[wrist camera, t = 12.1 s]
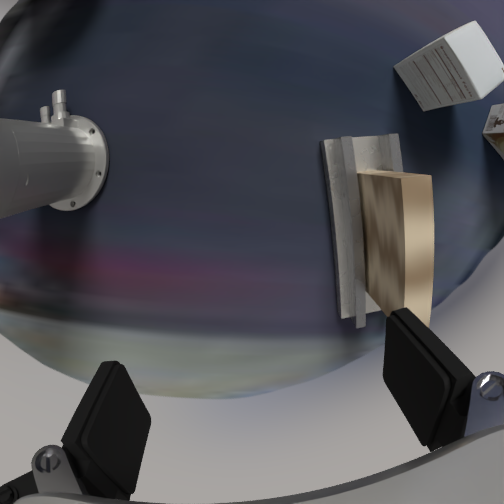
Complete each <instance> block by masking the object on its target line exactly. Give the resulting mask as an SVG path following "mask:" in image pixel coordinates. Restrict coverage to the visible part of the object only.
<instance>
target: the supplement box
mask: <svg viewBox="0 0 504 504" xmlns="http://www.w3.org/2000/svg"><path fill="white" fill-rule="evenodd" d="M394 68H395V70H396V71H397V73H398V74H399V76H400V77H401V78H402V80H403V81H404V83H405V84H406V86H407V87H408V89H409V90H410V92H411V93H412V95H413V96H414V98H415V99H416V101H417V102H418V104H419V105H420V107H421V108H422V110H423V111H428V110H432V109H436V108H440V107H445V106H450V105H455V104H460V103H465V102H470V101H475V100H479V99H482V98H483V97H485V96H486V95H487V94H488V93H489V92H491V91H492V90H493V89H494V88H496V87H497V86H498V85H499V84H500V83H501V82H503V81H504V65H503V63H502V61H501V59H500V58H499V56H498V54H497V52H496V51H495V49H494V48H493V46H492V44H491V43H490V41H489V40H488V38H487V37H486V35H485V34H484V32H483V31H482V29H481V28H480V26H479V25H478V23H477V22H476V21H473V22H470V23H468V24H466V25H463V26H461V27H459V28H457V29H455V30H453V31H451V32H449V33H447V34H446V35H444V36H442V37H440V38H439V39H437V40H435V41H433V42H432V43H430V44H428V45H427V46H425V47H423V48H422V49H420V50H418V51H417V52H415V53H414V54H412V55H410V56H409V57H407V58H406V59H404V60H403V61H401V62H400V63H398V64H396V65H395V66H394Z"/></svg>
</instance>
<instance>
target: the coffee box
mask: <svg viewBox="0 0 504 504" xmlns="http://www.w3.org/2000/svg"><path fill="white" fill-rule="evenodd" d="M482 134H483V136H484V137H485V138H486V139H487V140H488V142H489V143H490V144H491V145H492V146H493V147H494V149H495V150H496V151H497V152H498V153H499V155H500V156H501V157H502V158H503V160H504V104H498V105H492V107H491V110H490V113H489V116H488V119H487V121H486V124H485V127H484V130H483V133H482Z"/></svg>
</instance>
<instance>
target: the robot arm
mask: <svg viewBox="0 0 504 504" xmlns="http://www.w3.org/2000/svg"><path fill="white" fill-rule="evenodd" d="M52 105H53V110H54V115H53V116H52V117H51V119H52V122H50V107H49V106H45V107H42V108H41V109H40V114H41V121H42V123H40V122H32V121H22V120H12V119H1V118H0V219H1V218H4V217H7V216H11V215H14V214H17V213H20V212H24V211H27V210H31V209H34V208H38V207H41V206H45V205H50V206H51V207H53V208H55V209H58V210H62V211H71V210H76V209H79V208H81V207H83V206H85V205H87V204H88V203H89V202H91V201H92V200H93V199H94V198H95V197H96V195H97V194H98V193H99V191H100V190H101V188H102V186H103V184H104V182H105V179H106V176H107V172H108V166H109V150H108V145H107V141H106V139H105V136H104V134H103V132H102V131H101V129H100V128H99V127H98V126H97V125H96V124H95V123H94V122H93V121H91V120H89V119H88V118H85V117H82V116H75V115H71V116H70V114H69V112H67V111H66V91H65V90H58V91H55V92H53V93H52ZM94 131H95V133H94ZM100 173H101V175H100ZM75 203H76V204H75ZM383 379H384V382H385V384H386V385H387V387H388V389H389V390H390V392H391V394H392V395H393V397H394V399H395V400H396V402H397V404H398V405H399V407H400V408H401V410H402V412H403V414H404V415H405V417H406V419H407V421H408V422H409V424H410V426H411V427H412V429H413V431H414V433H415V434H416V436H417V437H418V439H419V441H420V443H421V444H422V445H423V446H426V445H427V447H428V448H429V450H430V452H431V453H428V454H426V455H424V456H422V457H419V458H417V459H414V460H412V461H409V462H407V463H404V464H401V465H399V466H396V467H393V468H391V469H388V470H385V471H382V472H379V473H376V474H373V475H371V476H367V477H364V478H361V479H358V480H354V481H351V482H347V483H344V484H340V485H336V486H332V487H328V488H324V489H320V490H315V491H311V492H306V493H301V494H296V495H290V496H284V497H277V498H271V499H263V500H255V501H246V502H233V503H218V504H504V375H503V374H501V373H499V372H494V371H493V372H485V373H481V374H480V375H479V376H477V377H475V376H474V375H473V373H472V372H471V371H470V370H469V369H468V368H467V367H466V366H465V365H464V364H463V363H462V362H461V361H460V360H459V358H458V357H457V356H456V355H455V354H454V353H453V352H452V351H451V350H450V349H449V348H448V347H447V346H446V345H445V344H444V343H443V342H442V341H441V340H440V339H439V338H438V337H437V336H436V335H435V334H434V333H433V332H432V331H431V330H430V329H429V328H428V327H427V326H426V325H425V324H424V323H423V322H422V321H421V320H420V319H419V318H418V317H417V316H416V315H415V314H414V313H413V312H412V311H410V310H409V309H408V308H407V307H404V308H401V309H398V310H394V311H392V312H391V313H390V316H388V317H387V319H386V336H385V353H384V366H383ZM150 426H151V417H150V414H149V412H148V410H147V409H146V407H145V405H144V403H143V401H142V399H141V398H140V396H139V394H138V392H137V390H136V388H135V386H134V384H133V382H132V380H131V378H130V376H129V374H128V372H127V370H126V368H125V366H124V365H122V364H120V363H119V362H118V361H105V362H102V363H101V365H100V367H99V368H98V370H97V372H96V374H95V376H94V377H93V379H92V381H91V383H90V385H89V387H88V388H87V390H86V392H85V394H84V396H83V398H82V400H81V402H80V404H79V405H78V407H77V409H76V411H75V413H74V415H73V417H72V419H71V421H70V423H69V425H68V427H67V429H66V431H65V433H64V435H63V437H62V439H61V442H62V443H63V446H62V448H61V447H59V446H57V445H48V446H44V447H43V448H41V449H39V450H38V451H37V452H36V453H35V455H34V457H33V459H32V462H31V463H32V471H30V472H28V473H26V474H24V475H22V476H20V477H18V478H16V479H14V480H12V481H10V482H8V483H6V484H4V485H2V486H1V487H0V504H164V503H147V502H135V501H129V500H130V495H131V494H133V493H134V492H135V488H136V484H137V479H138V475H139V470H140V466H141V462H142V458H143V454H144V450H145V445H146V441H147V437H148V433H149V429H150ZM440 447H442V448H440ZM438 448H439V449H438ZM436 449H437V450H436ZM434 450H435V451H434ZM432 451H433V452H432ZM117 499H118V500H117Z"/></svg>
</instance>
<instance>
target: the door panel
mask: <svg viewBox="0 0 504 504" xmlns="http://www.w3.org/2000/svg"><path fill="white" fill-rule="evenodd" d="M357 178H358V186H359V195H360V206H361V217H362V229H363V244H364V262H365V291H366V292H367V293H368V294H369V296H370V297H371V298H372V299H373V300H374V301H375V303H376V304H377V305H378V306H379V307H380V309H381V310H382V311H383V312H384V313H385V315H386V316H387V317H388V316H390V313H391V312H392V311H394V310H398V309H401V308H404V307H407V308H408V309H409V310H410V311H412V312H413V313H414V314H415V315H416V316H417V317H418V318H419V319H420V320H421V321H422V322H423V323H424V324H425V325H426V326H427V327H428V328H429V321H430V313H431V302H432V289H433V270H434V210H433V191H432V178H431V175H423V174H414V173H404V172H393V171H381V170H372V171H362V172H357Z"/></svg>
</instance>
